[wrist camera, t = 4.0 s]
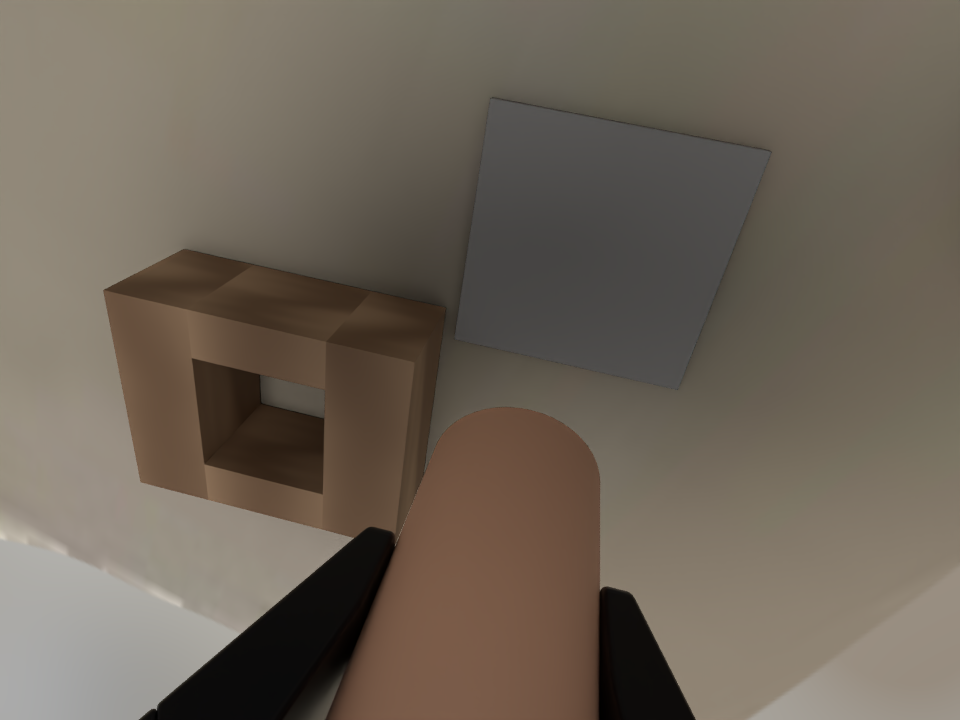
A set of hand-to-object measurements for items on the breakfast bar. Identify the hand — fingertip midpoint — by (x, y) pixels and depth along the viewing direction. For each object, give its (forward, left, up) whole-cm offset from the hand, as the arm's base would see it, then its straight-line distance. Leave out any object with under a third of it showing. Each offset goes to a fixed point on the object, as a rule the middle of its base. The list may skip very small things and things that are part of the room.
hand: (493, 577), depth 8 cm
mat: (-1, -1, -13) cm, 13 cm away
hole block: (+8, +6, -13) cm, 16 cm away
